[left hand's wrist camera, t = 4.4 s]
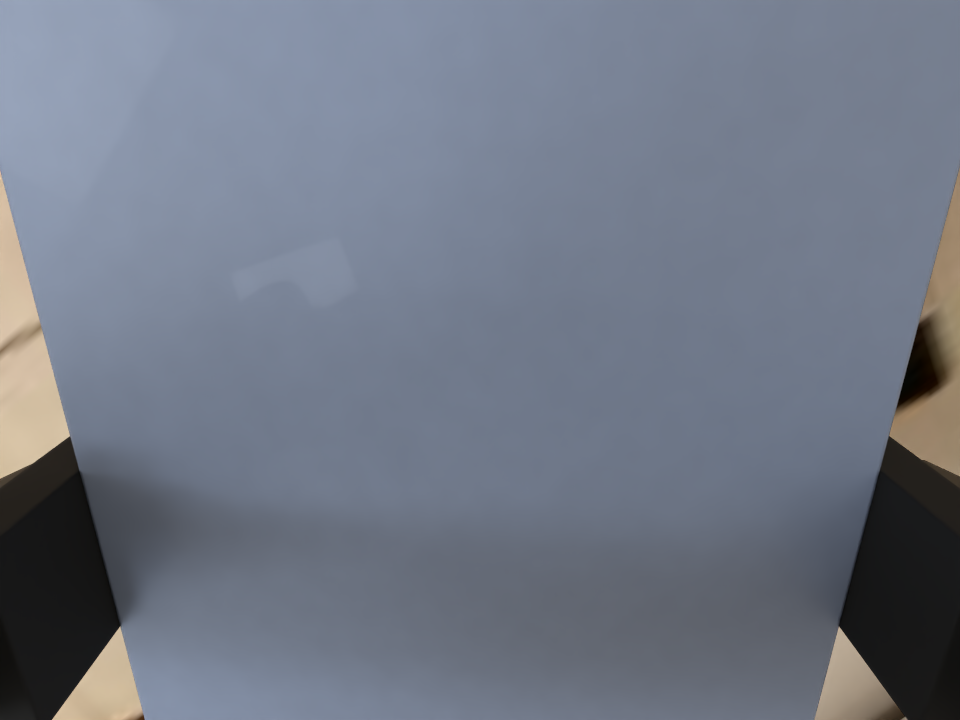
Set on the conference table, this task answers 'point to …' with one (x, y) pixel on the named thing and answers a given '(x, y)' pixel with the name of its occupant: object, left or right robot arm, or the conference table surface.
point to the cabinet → (479, 336)
